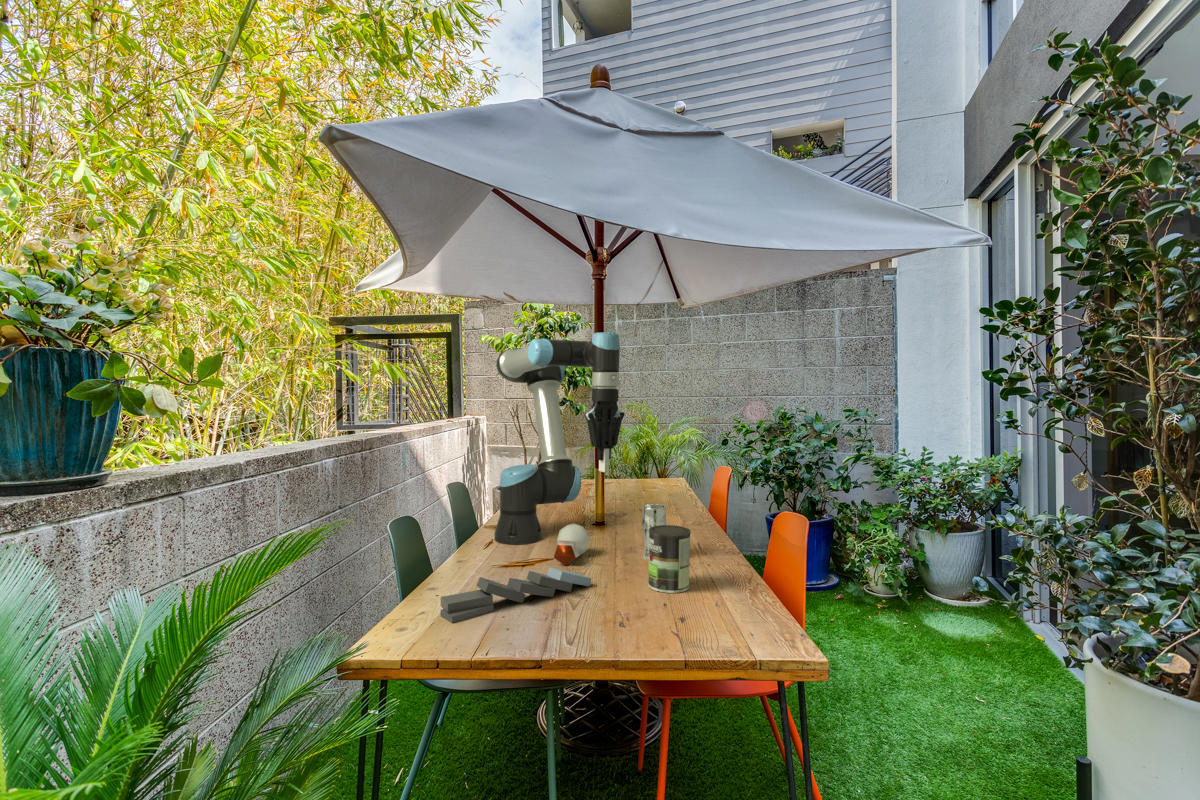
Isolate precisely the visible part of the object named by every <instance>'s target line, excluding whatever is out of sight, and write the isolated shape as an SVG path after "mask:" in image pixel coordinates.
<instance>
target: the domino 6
mask: <svg viewBox="0 0 1200 800" xmlns="http://www.w3.org/2000/svg"><path fill="white" fill-rule="evenodd" d="M546 575H547V576H550V577H552V578H555V579H557V580H560V581H565V582H569V583H572V584H574V585H580V586H585V587H589V586H590V585H591V582H592V577H588V576H586V575H583V574H580V573H577V572H572V571H568V570H563V569H559V568H555V567H551V566H548V570H547V574H546Z"/></svg>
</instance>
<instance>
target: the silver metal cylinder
mask: <svg viewBox="0 0 1200 800" xmlns="http://www.w3.org/2000/svg"><path fill="white" fill-rule="evenodd" d="M666 510H667V509H666V505H664V504H661V503H660V504H659V503H647V504H643V505H642V514H641V527H642V528H641V529H642V535H643V541H644V550H643V555H642V558H643V559H644V560H646V561H649V528H651V527H654V526H659V525H667V511H666Z"/></svg>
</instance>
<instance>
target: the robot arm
mask: <svg viewBox="0 0 1200 800" xmlns="http://www.w3.org/2000/svg"><path fill="white" fill-rule="evenodd" d="M620 345H621V344H620V335H619V334H618V333H617V332H611V331H610V332H608V331H607V332H601V331H600V332H598V331H597V332H594V334H593V335H592V340H589V341H588V340H570V339H568V340H567V339H565V340H563V339H549V338H534V339H532V340H531V341H530V343H529V344H528V345H527V346H526V347H523V348H519V349H518V348H517V349H515V348H510V349H507V350H505V351H504V350H503V352H501V353H500V354H499V355H498V357H497V360H496V362H495V363H496V364H495V367H496V370H497V372H498V374H499V375H500V376H501V377H502V378H503V379H505V380H507V381H508V382H512V383H519V384H522V383H523V384H526V385H527V390H528V391H529V392H530V393H531V394H532V399H533V404H534V413H535V423H536V428H537V430H536V431H537V435H538V444H539V450H540V458H541V460H540V461H539V462H538V463H537V465H535V464H533V463H529V464H518V465H512V466H508V467H506V468H504V469H502V471H501V472H500V480H499V518H498V521H497V524H496V527H495V530H494V541H496V542H498V543H500V544H507V545H526V544H527V545H528V544H532V543H536V542H539V541H540V540H542V538H543V537H542V536H543V535H542V534H543V533H542V527H541V524H540V521H539V519H538V515H537V506H538V505H548V504H557V503H559V504H560V503H561V504H563V503H566V502H572V501H575V500H576V499H577V497H578V496H579V494H580V491H581V487H582V473H581V471H580V469H579V467H578V466H576V465H574V464H573V460H572V458H571V457H568V456H567V449H566V442H565V437H564V429H563V423H562V415H561V408H560V401H559V400H560V399H559V393H558V389H559V388H560V387H561V383H563V381H564V379H565V376H566V375H565V372H566V367H574V368H575V367H576V368H577V367H579V368H580V367H581V368H591V369H592V370H591V371H592V372H591V373H592V374H591V386H592V387H593V388H592V389H591V401H592V406H591V408H590V410H589V412H588V411H587V412H584V414H583V415H584V418H585V420H586V422H587V428H588V434H589V438H590V444H591V446H592V447H595V448H596V449H597V450H596V451H597V454H596V455H597V457H596V458H597V460H598V471H599V472H602V473H609V472H610V460H611V458H612V449H614V448H615V446H617V445H618V442H619V441H618V440H619V436H620V431H621V426H622V421H623V419H624V417H625V415H626V413H625V412H624V411H621V410H620V409H619V406H618V401H619V399H620V398H619V393H620V392H619V389H618V387H619V385H620V383H619V382H620V381H619V380H620V372H619V371H620V351H621V349H620V348H621V346H620Z"/></svg>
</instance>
